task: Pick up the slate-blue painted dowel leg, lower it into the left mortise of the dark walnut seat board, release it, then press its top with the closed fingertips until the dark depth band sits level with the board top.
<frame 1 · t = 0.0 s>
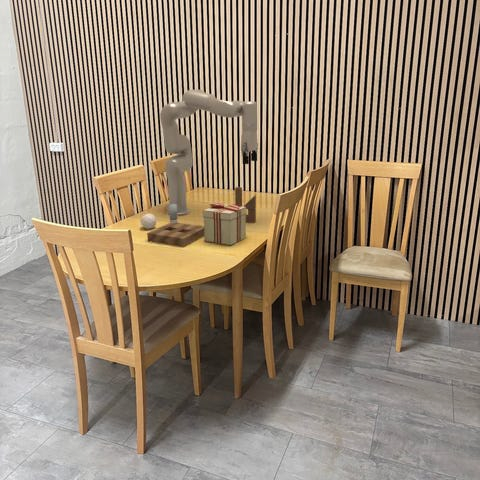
hand: (249, 162, 243), 31 cm above the table, tool pointing down, fingers open, 9 cm apart
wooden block: (245, 221, 255), on the table
gift box: (225, 238, 229), on the table
board: (177, 237, 230), on the table
peg: (174, 225, 249), on the table
geometric ball: (149, 228, 246), on the table
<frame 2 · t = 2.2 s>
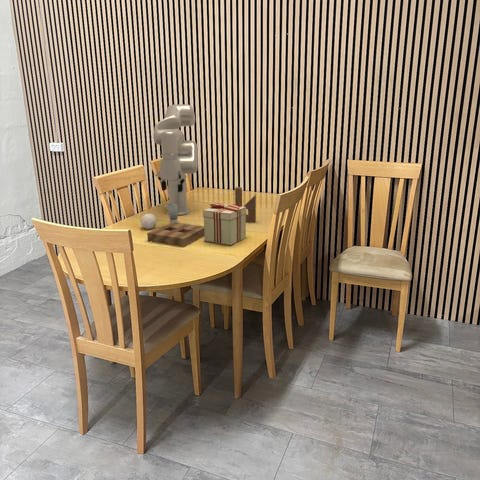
hand: (172, 190, 243), 18 cm above the table, tool pointing down, fingers open, 9 cm apart
nothing on the table moved.
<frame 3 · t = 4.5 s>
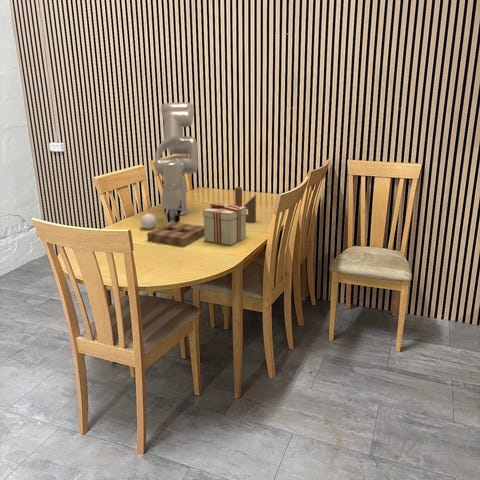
hand: (173, 221, 248), 2 cm above the table, tool pointing down, fingers closed on peg, 3 cm apart
peg: (174, 225, 249), on the table, touching gripper
everything else where it was.
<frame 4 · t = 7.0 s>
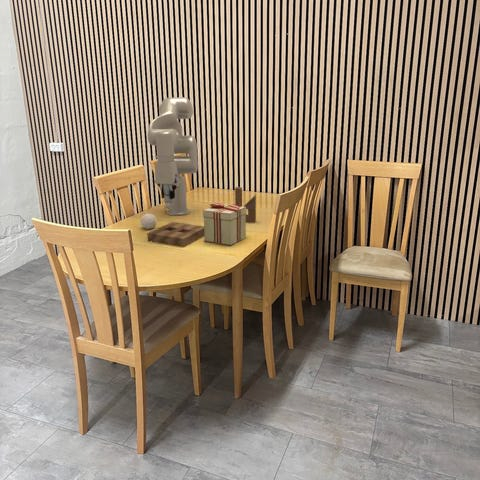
hand: (168, 197, 226), 19 cm above the table, tool pointing down, fingers closed on peg, 3 cm apart
peg: (168, 202, 226), point 17 cm above the table, touching gripper
everything else where it was.
when the fingers open (4 cm above the table, at t = 9.9 s): peg drops 2 cm, resting in board.
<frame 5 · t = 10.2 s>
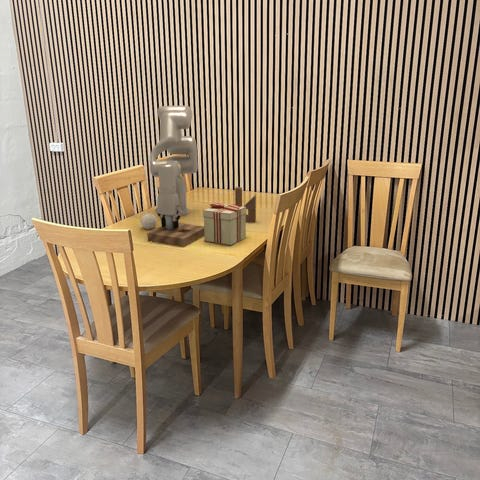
hand: (170, 227, 230), 5 cm above the table, tool pointing down, fingers open, 6 cm apart
peg: (170, 236, 232), resting in board
everything else where it was.
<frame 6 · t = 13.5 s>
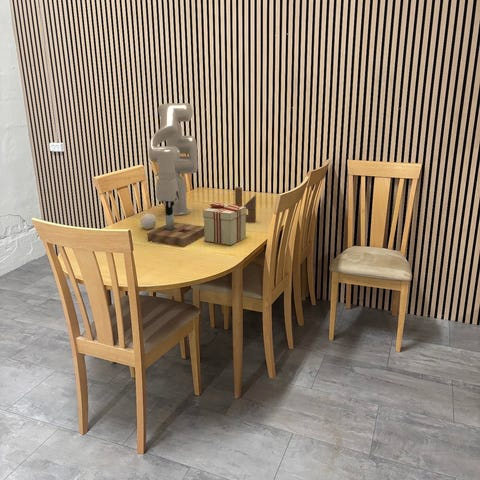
hand: (169, 214, 228), 11 cm above the table, tool pointing down, fingers closed
peg: (170, 236, 232), resting in board, touching gripper
everything else where it was.
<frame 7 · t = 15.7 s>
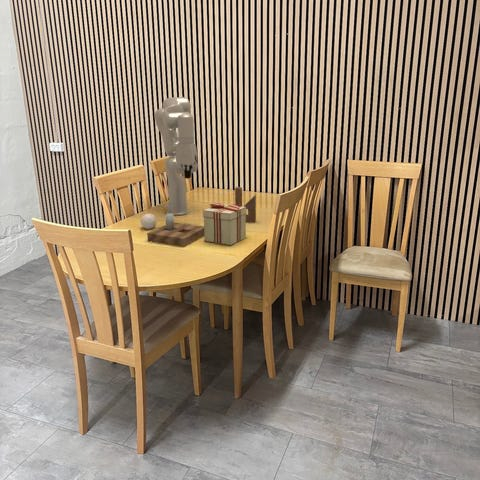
hand: (187, 177, 240), 25 cm above the table, tool pointing down, fingers closed
peg: (170, 236, 232), resting in board
everything else where it was.
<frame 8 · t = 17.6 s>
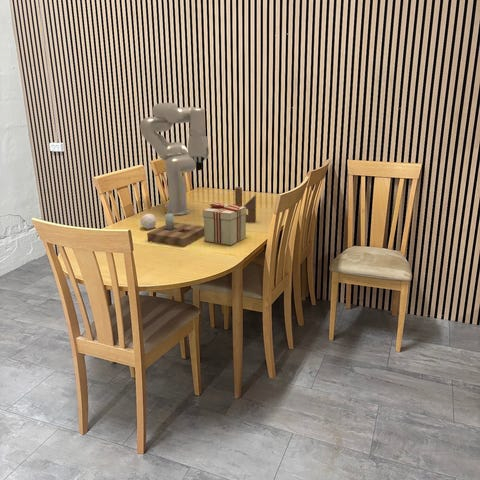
hand: (199, 169, 249), 27 cm above the table, tool pointing down, fingers closed
nothing on the table moved.
at the end: peg 0.1 cm from the target spot on the board, point 0.0 cm above the board's base; peg tilted 0°; the gripper is holding nothing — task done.
